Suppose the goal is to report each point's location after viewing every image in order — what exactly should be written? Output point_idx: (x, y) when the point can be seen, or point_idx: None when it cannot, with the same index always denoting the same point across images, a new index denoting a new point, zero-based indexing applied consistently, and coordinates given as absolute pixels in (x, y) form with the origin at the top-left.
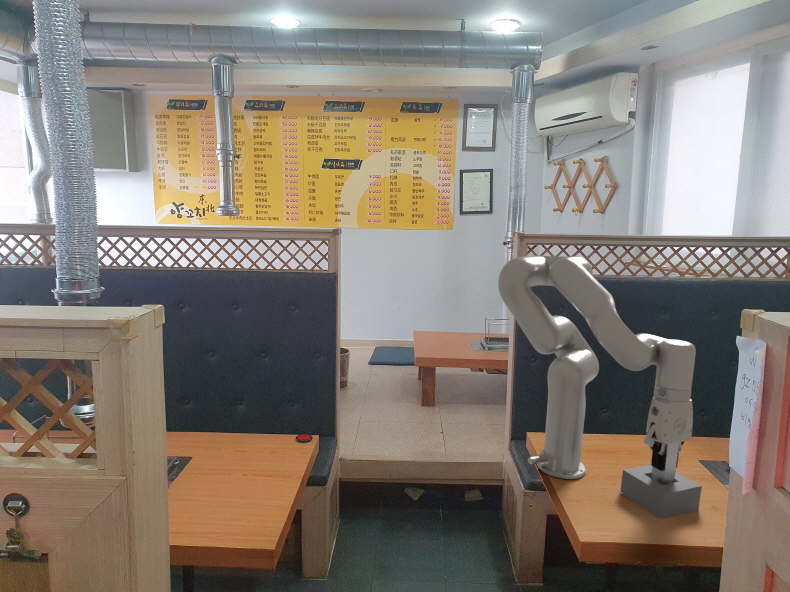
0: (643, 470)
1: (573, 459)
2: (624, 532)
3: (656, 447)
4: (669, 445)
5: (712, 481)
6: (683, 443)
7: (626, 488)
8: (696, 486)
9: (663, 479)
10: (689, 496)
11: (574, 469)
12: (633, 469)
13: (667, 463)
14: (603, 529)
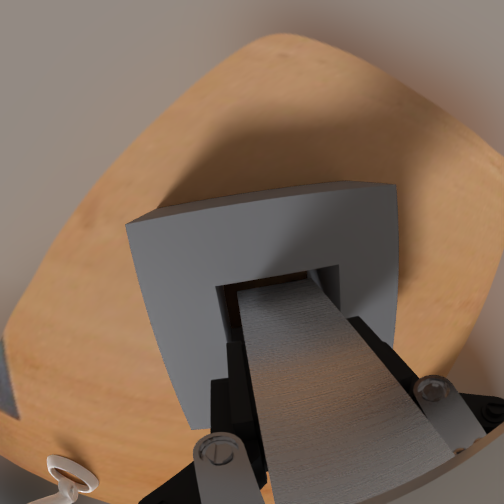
0: None
1: None
2: (466, 157)
3: (495, 403)
4: (420, 450)
5: (18, 347)
6: (146, 496)
7: None
8: (158, 224)
9: (321, 293)
10: (213, 203)
11: None
12: None
13: (346, 342)
14: (490, 184)
